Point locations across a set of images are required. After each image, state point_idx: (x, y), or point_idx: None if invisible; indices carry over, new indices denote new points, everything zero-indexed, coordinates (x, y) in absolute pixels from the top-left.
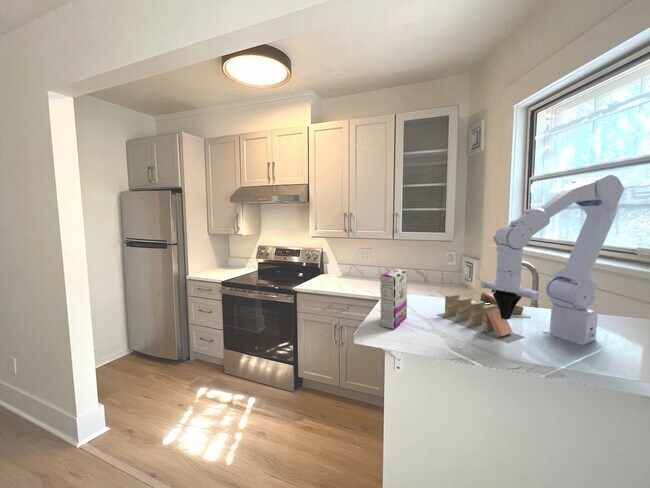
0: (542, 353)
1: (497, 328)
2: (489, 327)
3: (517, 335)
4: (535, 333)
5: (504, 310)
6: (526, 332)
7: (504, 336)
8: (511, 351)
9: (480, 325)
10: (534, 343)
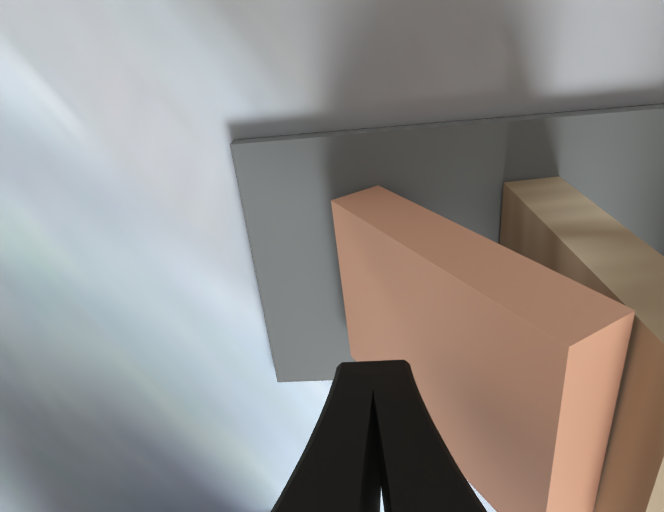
0: (30, 249)
1: (390, 224)
2: (517, 242)
3: (325, 360)
4: None
5: (340, 460)
6: None
7: None
8: (100, 28)
9: None
10: (192, 353)
